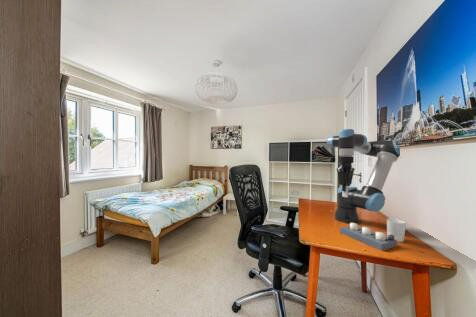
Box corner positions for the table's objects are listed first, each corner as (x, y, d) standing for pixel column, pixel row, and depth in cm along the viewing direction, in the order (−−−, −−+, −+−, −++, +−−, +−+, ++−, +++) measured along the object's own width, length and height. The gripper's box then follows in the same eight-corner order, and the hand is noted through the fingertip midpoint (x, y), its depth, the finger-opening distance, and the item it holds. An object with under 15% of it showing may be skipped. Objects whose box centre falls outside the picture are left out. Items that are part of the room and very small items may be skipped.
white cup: (405, 239, 102) (406, 221, 102) (404, 244, 97) (405, 224, 97) (387, 234, 108) (387, 217, 108) (385, 239, 102) (385, 220, 102)
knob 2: (378, 240, 98) (378, 231, 98) (387, 244, 94) (387, 234, 94) (373, 242, 97) (373, 232, 96) (382, 245, 93) (382, 235, 93)
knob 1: (352, 230, 111) (353, 222, 111) (359, 233, 107) (359, 224, 107) (348, 231, 109) (348, 223, 109) (354, 234, 106) (355, 225, 106)
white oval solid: (364, 235, 105) (365, 226, 104) (372, 238, 101) (372, 229, 101) (360, 236, 103) (360, 227, 103) (367, 239, 99) (367, 230, 99)
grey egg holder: (354, 230, 114) (354, 219, 114) (396, 246, 94) (396, 233, 94) (340, 232, 110) (340, 222, 110) (381, 250, 89) (381, 237, 89)
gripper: (347, 156, 116) (346, 194, 117) (332, 156, 111) (331, 196, 111) (359, 156, 109) (358, 197, 110) (344, 156, 104) (343, 199, 104)
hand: (345, 196), depth 110 cm, fingers closed
